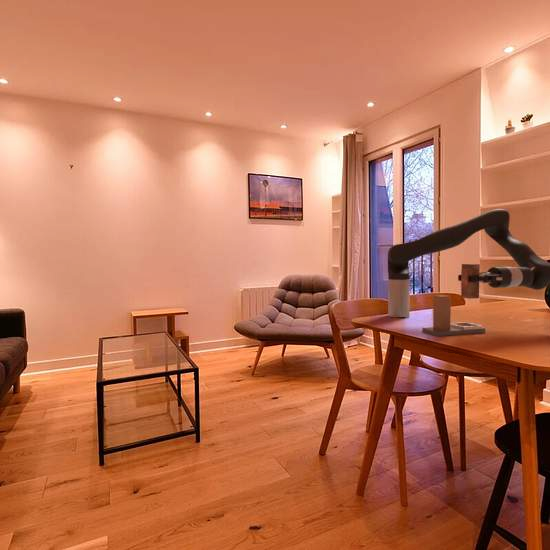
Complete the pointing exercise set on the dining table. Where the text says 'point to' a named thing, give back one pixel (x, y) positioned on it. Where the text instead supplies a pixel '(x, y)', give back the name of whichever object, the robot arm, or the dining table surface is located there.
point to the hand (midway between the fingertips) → (463, 278)
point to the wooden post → (469, 288)
